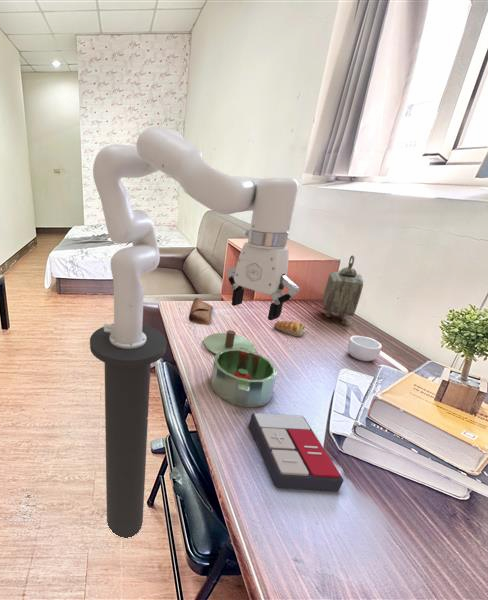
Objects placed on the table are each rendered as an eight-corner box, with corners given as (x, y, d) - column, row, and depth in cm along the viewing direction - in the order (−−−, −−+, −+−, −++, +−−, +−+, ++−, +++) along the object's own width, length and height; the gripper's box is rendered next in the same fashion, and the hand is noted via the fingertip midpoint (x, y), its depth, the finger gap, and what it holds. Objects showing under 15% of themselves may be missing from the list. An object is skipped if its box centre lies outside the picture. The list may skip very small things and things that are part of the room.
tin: (206, 405, 75) (210, 379, 72) (214, 362, 92) (217, 340, 90) (273, 421, 70) (279, 395, 67) (268, 373, 87) (273, 350, 84)
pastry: (272, 330, 112) (274, 320, 110) (276, 324, 116) (278, 314, 115) (301, 338, 106) (304, 328, 105) (304, 331, 111) (307, 321, 110)
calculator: (280, 473, 54) (251, 410, 67) (274, 489, 56) (248, 424, 69) (346, 478, 53) (304, 412, 66) (339, 494, 55) (299, 427, 68)
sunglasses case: (211, 323, 116) (203, 308, 114) (194, 329, 119) (186, 315, 118) (213, 306, 131) (206, 292, 130) (197, 312, 135) (191, 298, 133)
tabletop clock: (350, 328, 113) (371, 261, 104) (321, 322, 117) (338, 258, 108) (345, 313, 125) (364, 253, 115) (319, 309, 129) (335, 250, 120)
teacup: (379, 367, 90) (385, 351, 88) (347, 360, 93) (352, 344, 91) (371, 351, 98) (376, 336, 96) (342, 345, 102) (346, 330, 100)
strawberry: (231, 389, 80) (233, 373, 78) (232, 380, 84) (234, 365, 82) (248, 393, 79) (251, 377, 77) (248, 383, 82) (251, 368, 80)
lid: (201, 354, 97) (203, 338, 95) (206, 332, 110) (208, 318, 108) (255, 364, 91) (258, 348, 89) (254, 340, 105) (257, 326, 103)
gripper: (223, 234, 72) (214, 302, 78) (297, 248, 58) (279, 329, 64) (244, 231, 75) (233, 297, 82) (318, 244, 62) (299, 321, 68)
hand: (253, 311), depth 73 cm, fingers open, 9 cm apart
